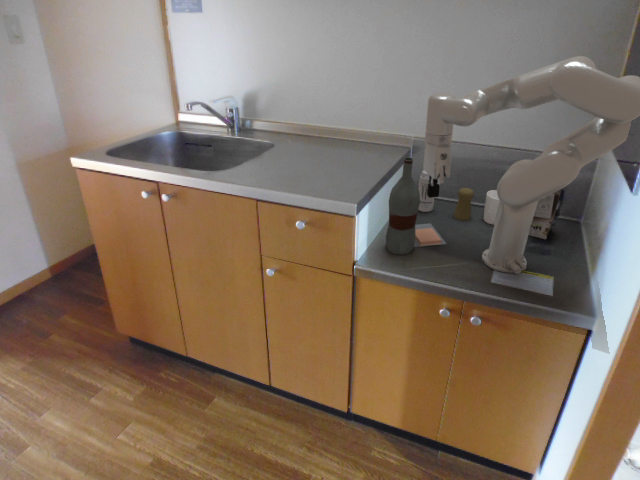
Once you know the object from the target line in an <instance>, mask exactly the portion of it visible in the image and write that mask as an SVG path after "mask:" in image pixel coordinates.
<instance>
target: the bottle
mask: <svg viewBox="0 0 640 480" xmlns="http://www.w3.org/2000/svg"><path fill="white" fill-rule="evenodd" d="M413 162H414V159H413V158H412V157H410V156H409V157H408V156H407V157H404V158H403V164H402V165H403V167H402V176H400V178H399V179H398V181H397V182H396V183H395V185H393V187H392V189H391V191H390V194H389V198H388V226H387V231H386V235H385V244H386V249H387V251H388V252H389V253H391V254H394V255H400V256H401V255H408V254H410V253H411V252H413V250H414V248H415V247H414V244H415V240H416V236H415V225H416V223H417V219H418V218H417V217H418V211H419V210H418V209H419V205H420V194H419V190H418V188H419V187H418V186H417V185H416V182H415V180H414V179H413V177H412V173H413V172H412V171H413Z"/></svg>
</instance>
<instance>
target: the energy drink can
mask: <svg viewBox="0 0 640 480" xmlns="http://www.w3.org/2000/svg"><path fill="white" fill-rule="evenodd" d="M428 184H429V183H428V174H427V172H426V171H425V170H424V169H423V170H422V172H421V173H420V175H419V181H418V187H417V188H418V190H419V194H420V205H419V209H418V211H420V212H421V213H428V212H432V211H433V209H434V205H435V204H434V203H435V198H436V197H432V198H429V197H428V196H427V189H428Z"/></svg>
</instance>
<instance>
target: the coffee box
mask: <svg viewBox="0 0 640 480" xmlns="http://www.w3.org/2000/svg"><path fill="white" fill-rule="evenodd" d="M562 190H563V188H562V189H560V190H558V191H556V192H554V193H552V194H550V195H548V196H546V197H544V198H542V199H540V200H538V203H537V206H536V210H535V213H534V217H533V220H532V224H531V228H530V231H529V235H528V236H531V237H535V238H539V239H543V240H547V239H548V238H547V237H548V236H549V232H550V230H551V226H552V224H553V222H554V218H555V215H556V210H557V207H558V204H559V201H560V198H561V197H560V196H561V193H562Z"/></svg>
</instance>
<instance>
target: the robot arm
mask: <svg viewBox="0 0 640 480" xmlns="http://www.w3.org/2000/svg"><path fill="white" fill-rule="evenodd" d="M555 101H562V102H563V103H564V104H567V105H569V106H572V107H574V108H575V109H578V110H580V111H582V112H585V113H587V114H589V115H592V116H594V117H595V118H593V119H592V120H590V121H589V122H586V123H585V124H584V125H582V126H581V127H579V128H577V129H576V130H573V131H572V132H570V133H568V134H566V135H565V136H563V137H561V138H559V139H558V140H556V141H554V142H551V143H550V144H549V145H547V147H546V148H545V149H544V150H543V151H542V153H541V155H539V156H537V157H536V158H534V159H528V158H527V159H520V160H518V161H516V162H514V163H513V164H511V166H509V167H508V169H507V170H506V171H505V172H504V174H503V175H502V177H501V178H500V180H499V182H498V184H497V187H496V190H497V195H498V198H499V200H500V203H499V207H498V212H497V215H496V220H495V225H493V230H492V234H491V239H490V244H489V248H487V249H485V250H484V251H483V252H482V254H481V260H482V262H483V263H484V264H485V265H486V266H488V267H489V268H490V269H492V270H495V271H498V272H501V273H507V274H508V273H511V274H516V275H519V274H520V273H522V271H524V270H525V271H526V269H527V265H528V263H527V259H526V258H525V255H524V253H525V250H526V245H527V241H528V238H529V236H530V235H529V231H530V228H531V224H532V220H533V217H534V213H535V210H536V206H537V203H538V200H540V199H542V198H544V197H546V196H548V195H550V194H552V193H554V192H556V191H558V190H560V189H562V190H563V189H564V188H565V187H567V186H568V185H570V184H571V183H573V181H575V179H576V178H577V176H578V175H579V173H580V172H581V169H582V168H583V167H584V166H585V165H588V164H589V163H591V162H593V161H595V160H596V159H598V158H600V157H602V156H604V155H605V154H607V153H609V152H611V151H612V150H614V149H616V148H617V147H619V146H620V145H621V144H623V143H624V142H626V141H627V140H628V139H627V137H628V133H629V130H630V126H631V121H632V120H634V119H636V118H637V117H639V116H640V76H637V75H634V74H633V75H630V74H629V75H624V76H621V77H619V78H618V77H617V76H613V75H611V74H608V73H606V72H604V71H601V70H599V69H597V66H596V64H595V62H594V61H593V60H592V59H590V57H587V56H584V55H582V56H581V55H578V56H573V57H572V56H571V57H569V58H567V59H563V60H561V61H558V62H557V61H556V62H555V63H552V64H549V65H547V66H543V67H540V68H538V69H535V70H531V71H529V72H526V73H522V74H520V75H517V76H513V77H512V78H509V79H506V80H502V81H500V82H498V83H494V84H492V85H489V86H486V87H483V88H480V89H476V90H474V91H471V92H469V93H467V94H466V95H464V96H462V97H461V96H460V97H459V98H456V96H455V95H454V94H452V93H448V92H437V93H432V94H430V96H429V97H428V101H427V110H426V111H427V113H426V121H425V122H426V123H425V133H424V134H425V136H424V137H425V138H424V144H425V147H424V154H423V163H422V164H423V170H425V171H426V172H427V174H428V183H429V184H428V189H427V196H428V197H429V198H432V197H435V198H438V197H439V195H440V188H441V187H440V186H441V185H444V183H445V182H444V180H445V179H449V178H450V177H451V167H452V147H451V145H452V141H453V140H452V139H453V131H454V125H456V126H457V127H470V126H472V125H474V124H475V123H477V122H478V121H479V119H481V118H482V117H486V116H488V115H492V114H496V113H498V112H502V111H505V110H510V109H519V110H529V109H532V108H536V107H539V106H542V105H546V104H548V103H552V102H555ZM626 139H627V140H626ZM444 177H445V179H444Z"/></svg>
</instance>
